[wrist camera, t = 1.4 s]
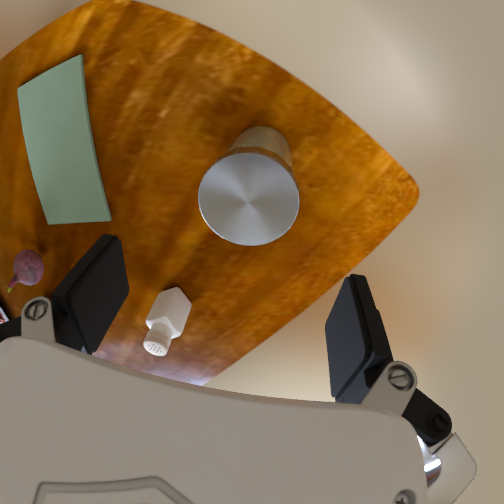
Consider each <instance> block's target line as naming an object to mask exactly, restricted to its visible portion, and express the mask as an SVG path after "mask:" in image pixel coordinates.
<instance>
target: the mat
mask: <svg viewBox="0 0 504 504" xmlns="http://www.w3.org/2000/svg"><path fill="white" fill-rule="evenodd" d="M18 99H19V108H20V115H21V122H22V128H23V134H24V139H25V144H26V149H27V153H28V158H29V162H30V166H31V170H32V174H33V178H34V181H35V185H36V188H37V192H38V195H39V198H40V201H41V205H42V208H43V211H44V214H45V216H46V219H47V222H48V225H50V224H65V223H81V222H100V221H111V220H112V218H111V214H110V211H109V207H108V203H107V200H106V196H105V192H104V188H103V184H102V180H101V175H100V171H99V167H98V162H97V157H96V152H95V147H94V142H93V136H92V131H91V125H90V118H89V112H88V104H87V96H86V87H85V77H84V65H83V54H80V55H78V56H76V57H73V58H71V59H69V60H67V61H65V62H63V63H61V64H59V65H57V66H55V67H53V68H51V69H50V70H48V71H46V72H44V73H42V74H41V75H39V76H37V77H35V78H34V79H32V80H30V81H29V82H27V83H25V84H24V85H22V86H21V87H19V88H18Z"/></svg>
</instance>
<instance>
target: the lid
mask: <svg viewBox="0 0 504 504" xmlns="http://www.w3.org/2000/svg"><path fill="white" fill-rule="evenodd" d="M298 191H300V190H299V184H298V183H297V181H296V178H295V175H294V173H293V171H292V167H291V166H289V165H288V164H287V163H286V162H285V160H284V159H282V158H281V157H280V156H279V155H278V153H276V154H275V153H274V152H272V151H269V150H267V149H264V148H260V147H259V146H257V147H251V146H247V147H237V148H235V149H233V150H230V151H228V152H226V153H224V154H223V155H222V154H221V155H220V156H219V157H218V158H217V160H216V161H215V162H214V163H213V165H212V166H211V167H209V168H208V170H207V171H206V172H205V173H204V177H203V179H202V181H201V184H200V187H199V193H198V201H199V207H200V211H201V214H202V216H203V218H204V220H205V221H206V223H207V224H208V226H209V227H210V228H211V229H212V230H213V231H214V232H215V233H216V234H218V235H219V236H221V237H222V238H224V239H226V240H228V241H230V242H233V243H236V244H241V245H250V246H251V245H261V244H265V243H269V242H271V241H274V240H276V239H277V238H279V237H280V236H282V235H283V234H284V233H285V232H286V231H287V230H288V229H289V228H290V227H291V226H292V224H293V222H294V221H295V219H296V216H297V213H298V209H299V193H298Z"/></svg>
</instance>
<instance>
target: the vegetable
mask: <svg viewBox="0 0 504 504" xmlns="http://www.w3.org/2000/svg"><path fill="white" fill-rule="evenodd" d="M13 267H14V273H15V275H14V277H13V278H12V279H11V281H10V283H9V285H8V287H9V288H8V287H7V288H8V290H7V291H8V293H9V292H10V291H11V289H13V286H14V285H15V284H16V283H17V282H21V283H23V284H26V285H34V284H36V283H38V282H39V281H40V280H41V278H42V276H43V272H44V265H43V262H42V257H41V256H40V254H37V253H36V252H35V251H33V250H29V249H25V250H22V251H20V252H19V253H18V254H17V255H16V257H15V260H14V265H13Z"/></svg>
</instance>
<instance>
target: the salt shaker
mask: <svg viewBox="0 0 504 504" xmlns="http://www.w3.org/2000/svg"><path fill="white" fill-rule="evenodd" d="M190 309H191V302H190V301H189V300H188V298H187V297H186V296H185V295H184V293H183V292H182V291H181V289H180V288H178V287H175V288H172V289H168V290H165V291H162V292H160V293H159V294H158V296H157V298H156V300H155V302H154V304H153V306H152V308H151V310H150V312H149V314H148V317H147V319H146V324H147V325H148V327H149V328H150V331H149V332H148V333H147V336H146V338H145V340H144V345H143V346H144V347H145V349H146V350H147V351H149V352H150V353H152V354H154V355H157V356H164V355H166V354H167V351H168V348H169V346H170V343H171V339H172V338H175V337H178V336H180V335H181V334H182V332H183V329H184V326H185V323H186V320H187V317H188V314H189V312H190Z"/></svg>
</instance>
